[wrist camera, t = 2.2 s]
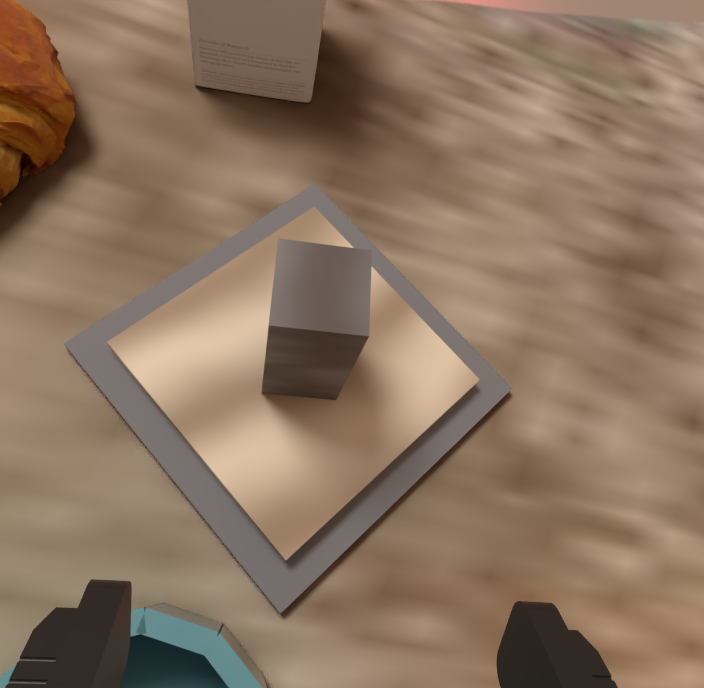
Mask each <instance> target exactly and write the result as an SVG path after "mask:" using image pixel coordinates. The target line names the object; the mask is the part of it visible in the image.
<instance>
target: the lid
mask: <svg viewBox="0 0 704 688" xmlns="http://www.w3.org/2000/svg"><path fill="white" fill-rule="evenodd" d="M107 343H108V345H109V347H110V349H111V350H112V351H113V352H114V354H115V355H116V356H117V357H118V358H119V360H120V361H121V362H122V363H123V365H124V366H125V367H126V368H127V369H128V371H129V372H130V373H131V374H132V376H133V377H134V378H135V379H136V380H137V382H138V383H139V384H140V385H141V387H142V388H143V389H144V390H145V391H146V393H147V394H148V395H149V396H150V398H151V399H152V400H153V401H154V402H155V404H156V405H157V406H158V407H159V409H160V410H161V411H162V412H163V413H164V415H165V416H166V417H167V418H168V420H169V421H170V422H171V423H172V424H173V426H174V427H175V428H176V429H177V430H178V432H179V433H180V434H181V435H182V437H183V438H184V439H185V440H186V441H187V443H188V444H189V445H190V446H191V448H192V449H193V450H194V451H195V452H196V454H197V455H198V456H199V457H200V459H201V460H202V461H203V462H204V463H205V465H206V466H207V467H208V468H209V470H210V471H211V472H212V473H213V474H214V476H215V477H216V478H217V479H218V481H219V482H220V483H221V484H222V485H223V487H224V488H225V489H226V490H227V492H228V493H229V494H230V495H231V496H232V498H233V499H234V500H235V501H236V502H237V504H238V505H239V506H240V507H241V509H242V510H243V511H244V512H245V513H246V515H247V516H248V517H249V518H250V520H251V521H252V522H253V523H254V524H255V526H256V527H257V528H258V529H259V531H260V532H261V533H262V534H263V535H264V537H265V538H266V539H267V540H268V542H269V543H270V544H271V545H272V546H273V548H274V549H275V550H276V551H277V553H278V554H279V555H280V556H281V557H282V559H283V560H284V561H286V560H287V559H288V558H289V557H290V556H291V555H292V554H294V553H295V552H296V551H297V550H298V549H299V548H300V547H301V546H302V545H303V544H304V543H305V542H306V541H308V540H309V539H310V538H311V537H312V536H313V535H314V534H315V533H316V532H317V531H318V530H319V529H320V528H321V527H323V526H324V525H325V524H326V523H327V522H328V521H329V520H330V519H331V518H332V517H333V516H334V515H335V514H336V513H338V512H339V511H340V510H341V509H342V508H343V507H344V506H345V505H346V504H347V503H348V502H349V501H350V500H352V499H353V498H354V497H355V496H356V495H357V494H358V493H359V492H360V491H361V490H362V489H363V488H364V487H365V486H367V485H368V484H369V483H370V482H371V481H372V480H373V479H374V478H375V477H376V476H377V475H378V474H379V473H380V472H382V471H383V470H384V469H385V468H386V467H387V466H388V465H389V464H390V463H391V462H392V461H393V460H394V459H396V458H397V457H398V456H399V455H400V454H401V453H402V452H403V451H404V450H405V449H406V448H407V447H408V446H409V445H411V444H412V443H413V442H414V441H415V440H416V439H417V438H418V437H419V436H420V435H421V434H422V433H423V432H424V431H426V430H427V429H428V428H429V427H430V426H431V425H432V424H433V423H434V422H435V421H436V420H437V419H438V418H440V417H441V416H442V415H443V414H444V413H445V412H446V411H447V410H448V409H449V408H450V407H451V406H452V405H453V404H455V403H456V402H457V401H458V400H459V399H460V398H461V397H462V396H463V395H464V394H465V393H466V392H467V391H468V390H470V389H471V388H472V387H473V386H474V385H475V384H476V383H477V382H478V381H479V380H480V379H479V378H478V377H477V376H476V375H475V374H474V373H473V372H472V371H471V370H470V369H469V368H468V367H467V366H466V365H465V364H464V363H463V361H462V360H461V359H460V358H459V357H458V356H457V355H456V354H455V353H454V352H453V351H452V350H451V349H450V348H449V347H448V346H447V345H446V344H445V343H444V342H443V341H442V339H441V338H440V337H439V336H438V335H437V334H436V333H435V332H434V331H433V330H432V329H431V328H430V327H429V326H428V325H427V324H426V323H425V322H424V321H423V320H422V319H421V318H420V316H419V315H418V314H417V313H416V312H415V311H414V310H413V309H412V308H411V307H410V306H409V305H408V304H407V303H406V302H405V301H404V300H403V299H402V298H401V297H400V296H399V294H398V293H397V292H396V291H395V290H394V289H393V288H392V287H391V286H390V285H389V284H388V283H387V282H386V281H385V280H384V279H383V278H382V277H381V276H380V275H379V274H378V272H377V271H376V270H375V269H374V268H373V267H372V250H364V249H357V248H354V247H353V246H352V245H351V244H350V243H349V242H348V241H347V240H346V239H345V238H344V237H343V236H342V235H341V234H340V233H339V232H338V231H337V230H336V229H335V227H334V226H333V225H332V224H331V223H330V222H329V221H328V220H327V219H326V218H325V217H324V216H323V215H322V214H321V213H320V212H319V211H318V210H317V209H316V208H315V207H313V208H311V209H310V210H308V211H307V212H305V213H303V214H302V215H300V216H299V217H297V218H296V219H294V220H293V221H291V222H290V223H288V224H287V225H285V226H284V227H282V228H280V229H279V230H277V231H276V232H274V233H273V234H271V235H270V236H268V237H267V238H265V239H264V240H262V241H261V242H259V243H258V244H256V245H254V246H253V247H251V248H250V249H248V250H247V251H245V252H244V253H242V254H241V255H239V256H238V257H236V258H235V259H233V260H231V261H230V262H228V263H227V264H225V265H224V266H222V267H221V268H219V269H218V270H216V271H215V272H213V273H212V274H210V275H209V276H207V277H205V278H204V279H202V280H201V281H199V282H198V283H196V284H195V285H193V286H192V287H190V288H189V289H187V290H186V291H184V292H182V293H181V294H179V295H178V296H176V297H175V298H173V299H172V300H170V301H169V302H167V303H166V304H164V305H163V306H161V307H159V308H158V309H156V310H155V311H153V312H152V313H150V314H149V315H147V316H146V317H144V318H143V319H141V320H140V321H138V322H137V323H135V324H133V325H132V326H130V327H129V328H127V329H126V330H124V331H123V332H121V333H120V334H118V335H117V336H115V337H114V338H112V339H110V340H109V341H107Z"/></svg>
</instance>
